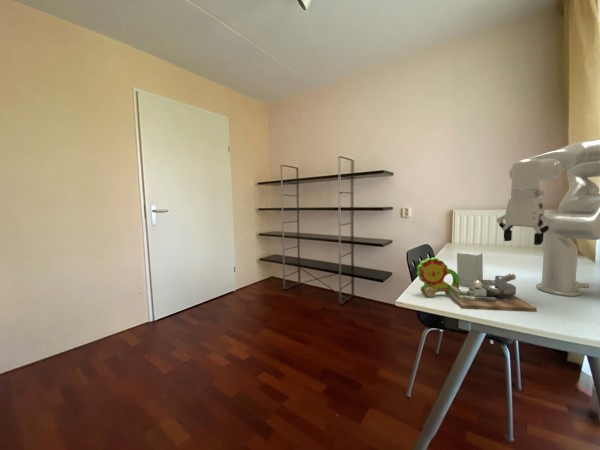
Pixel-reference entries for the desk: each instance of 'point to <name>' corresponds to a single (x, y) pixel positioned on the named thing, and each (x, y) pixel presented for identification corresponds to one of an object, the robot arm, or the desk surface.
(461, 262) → the skincare box
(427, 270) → the toy lion
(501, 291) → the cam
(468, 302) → the stand
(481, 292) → the block with glass ball
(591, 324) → the desk surface
